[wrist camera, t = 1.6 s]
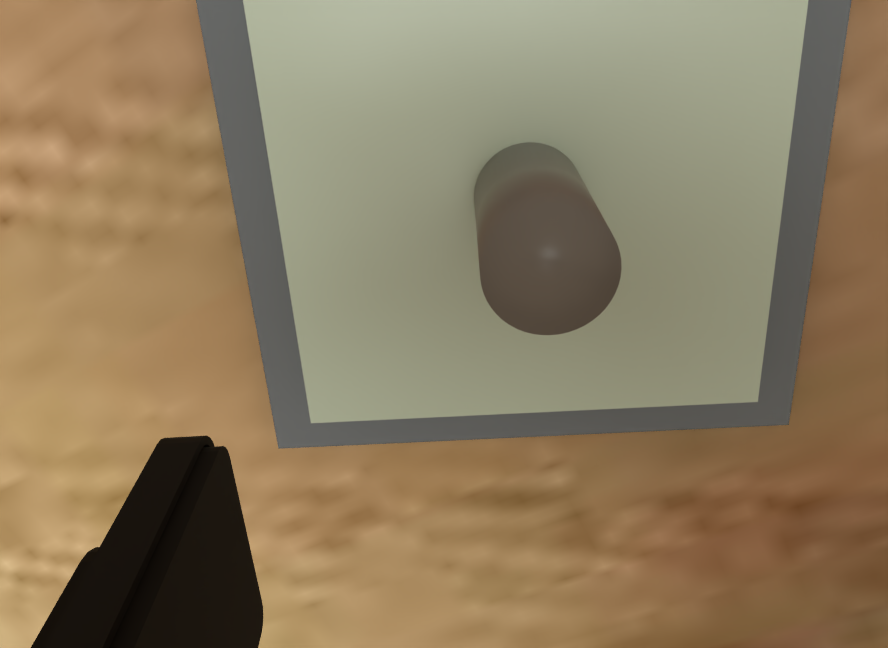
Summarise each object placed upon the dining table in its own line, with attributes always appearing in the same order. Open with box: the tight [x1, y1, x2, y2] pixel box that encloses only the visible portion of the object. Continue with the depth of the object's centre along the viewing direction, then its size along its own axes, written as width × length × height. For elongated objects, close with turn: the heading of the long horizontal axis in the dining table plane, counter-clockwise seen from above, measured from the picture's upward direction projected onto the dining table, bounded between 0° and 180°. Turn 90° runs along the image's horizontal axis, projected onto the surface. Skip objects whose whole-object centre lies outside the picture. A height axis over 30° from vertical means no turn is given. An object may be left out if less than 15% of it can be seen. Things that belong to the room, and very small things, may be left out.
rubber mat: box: [196, 0, 851, 448], centre depth 24 cm, size 18×18×1 cm
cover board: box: [243, 0, 808, 423], centre depth 21 cm, size 15×15×7 cm
